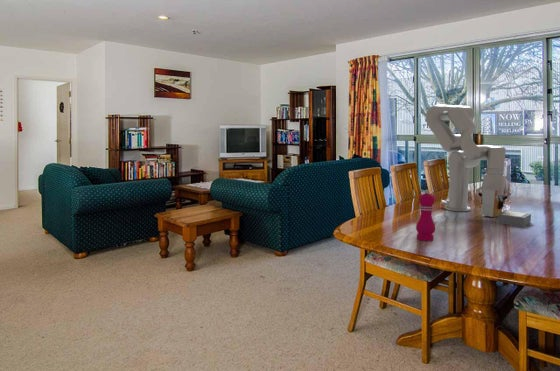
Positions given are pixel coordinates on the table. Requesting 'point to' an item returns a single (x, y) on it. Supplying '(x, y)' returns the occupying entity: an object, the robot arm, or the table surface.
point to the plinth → (514, 218)
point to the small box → (490, 203)
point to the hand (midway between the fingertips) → (491, 207)
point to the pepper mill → (426, 218)
